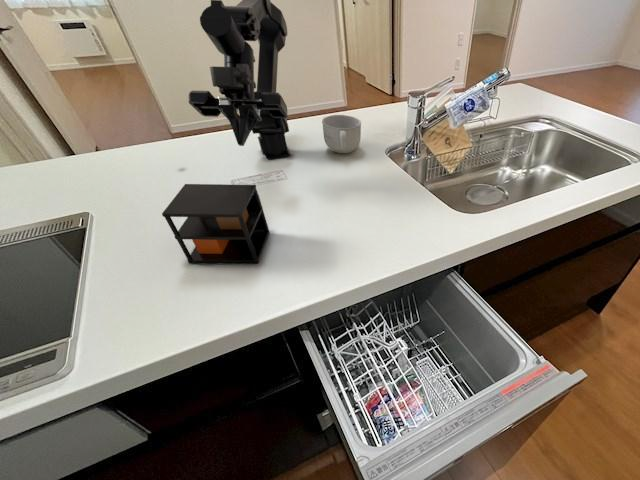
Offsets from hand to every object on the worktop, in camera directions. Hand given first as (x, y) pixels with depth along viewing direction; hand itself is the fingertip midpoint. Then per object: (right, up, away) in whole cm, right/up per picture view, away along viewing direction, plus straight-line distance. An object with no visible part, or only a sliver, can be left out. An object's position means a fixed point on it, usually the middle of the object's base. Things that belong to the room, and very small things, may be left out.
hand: (240, 145), depth 74 cm
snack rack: (0, -23, -5) cm, 23 cm away
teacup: (+18, +10, +27) cm, 34 cm away
